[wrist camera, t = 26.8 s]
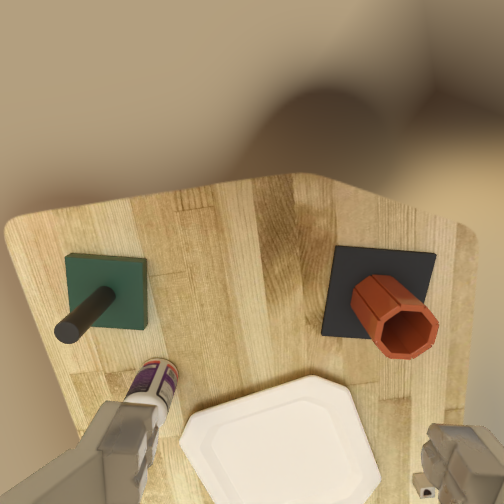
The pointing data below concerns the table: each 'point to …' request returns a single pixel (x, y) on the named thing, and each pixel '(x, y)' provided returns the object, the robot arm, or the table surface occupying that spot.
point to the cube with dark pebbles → (423, 486)
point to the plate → (283, 447)
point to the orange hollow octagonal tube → (394, 317)
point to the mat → (360, 267)
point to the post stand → (103, 294)
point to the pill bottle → (154, 386)
